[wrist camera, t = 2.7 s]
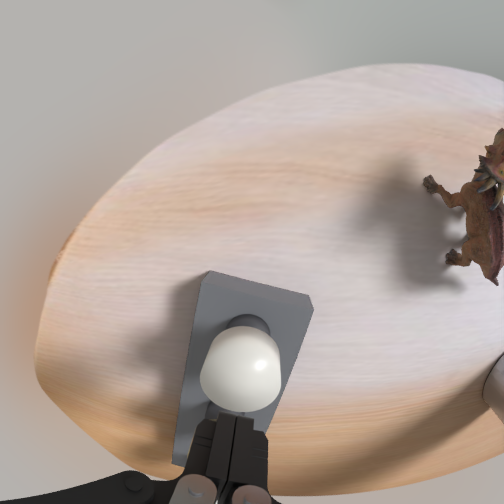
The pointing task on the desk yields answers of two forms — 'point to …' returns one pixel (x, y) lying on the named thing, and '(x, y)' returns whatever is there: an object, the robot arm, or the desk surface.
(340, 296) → the desk surface
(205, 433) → the robot arm
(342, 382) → the desk surface
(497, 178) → the dinosaur figurine
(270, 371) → the cream knob
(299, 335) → the control strip
